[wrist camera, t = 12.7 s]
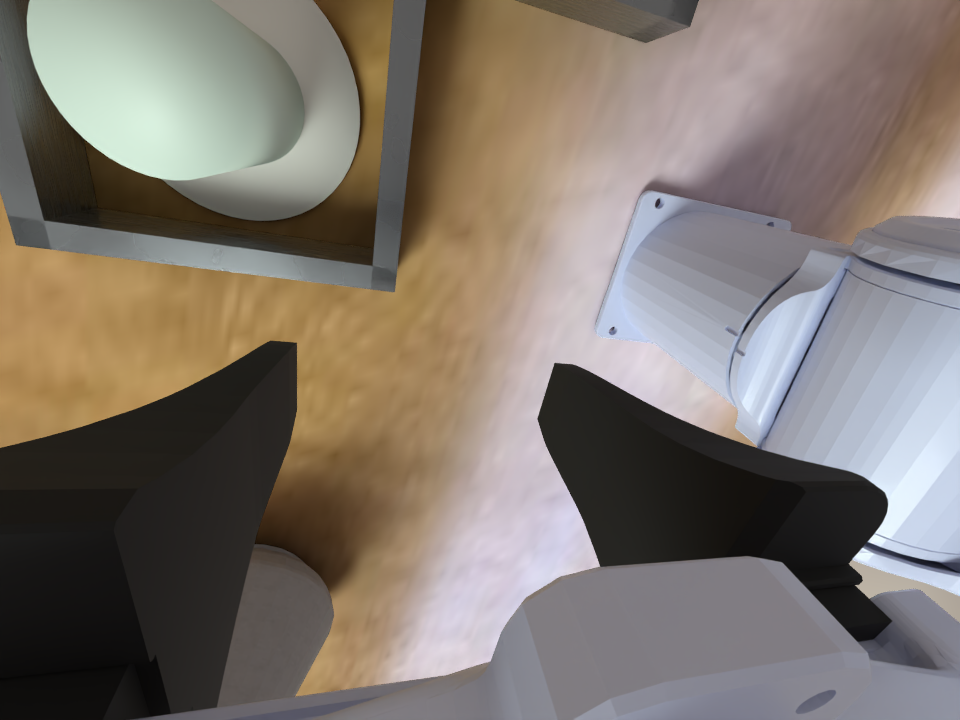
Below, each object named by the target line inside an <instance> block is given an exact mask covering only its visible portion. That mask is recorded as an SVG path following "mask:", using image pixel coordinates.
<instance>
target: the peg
mask: <svg viewBox="0 0 960 720" xmlns="http://www.w3.org/2000/svg"><path fill="white" fill-rule="evenodd" d="M27 36H28V42H29V47H30V52H31V56H32V59H33V62H34V65H35V68H36V71H37V73H38V75H39V78H40V80H41V82H42V84H43V86H44V88H45V90H46V91H47V93H48V95H49V97H50V99H51V100H52V101H53V103H54V104H55V106H56V107H57V109H58V110H59V112H60V113H61V114H62V115H63V117H64V118H65V119H66V120H67V121H68V123H69V124H70V125H71V126H72V127H73V128H74V129H75V130H76V131H77V132H78V133H79V134H80V135H81V136H82V137H83V138H84V139H85V140H86V141H88V142H89V143H90V144H91V145H92V146H93V147H95V148H96V149H97V150H99V151H100V152H102V153H103V154H104V155H106V156H107V157H109V158H110V159H112V160H114V161H116V162H117V163H119V164H121V165H123V166H125V167H127V168H129V169H131V170H134V171H136V172H139V173H142V174H145V175H148V176H151V177H156V178H160V179H167V180H192V179H198V178H203V177H208V176H212V175H217V174H221V173H226V172H230V171H235V170H239V169H244V168H248V167H253V166H257V165H262V164H266V163H270V162H273V161H276V160H278V159H280V158H282V157H283V156H285V155H286V154H288V153H289V152H290V151H291V150H292V149H293V147H294V146H295V144H296V143H297V141H298V139H299V137H300V135H301V132H302V129H303V124H304V114H305V112H304V101H303V96H302V92H301V89H300V86H299V83H298V81H297V79H296V77H295V75H294V73H293V71H292V69H291V68H290V66H289V65H288V63H287V62H286V60H285V59H284V58H283V57H282V56H281V54H280V53H279V52H278V51H277V50H276V49H275V48H274V47H273V46H272V45H270V44H269V43H268V42H266V41H265V40H264V39H263V38H261V37H260V36H259V35H257V34H256V33H255V32H253V31H252V30H251V29H249V28H248V27H247V26H245V25H244V24H243V23H241V22H240V21H239V20H237V19H236V18H235V17H233V16H232V15H231V14H229V13H228V12H227V11H225V10H224V9H223V8H221V7H220V6H219V5H217V4H216V3H215V2H213V1H212V0H30V1H29V5H28V13H27Z"/></svg>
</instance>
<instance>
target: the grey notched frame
mask: <svg viewBox="0 0 960 720" xmlns="http://www.w3.org/2000/svg"><path fill="white" fill-rule="evenodd" d="M29 1H30V0H0V192H1V196H2V199H3V202H4V206H5V209H6V213H7V216H8V219H9V223H10V226H11V229H12V233H13V236H14V239H15V243H16V245H19V246H27V247H36V248H44V249H52V250H60V251H68V252H76V253H84V254H92V255H100V256H108V257H116V258H124V259H132V260H140V261H148V262H156V263H164V264H172V265H180V266H188V267H196V268H204V269H212V270H220V271H228V272H236V273H244V274H252V275H260V276H268V277H276V278H284V279H292V280H301V281H309V282H317V283H325V284H333V285H341V286H349V287H357V288H365V289H373V290H381V291H389V292H395V285H396V275H397V266H398V257H399V248H400V238H401V229H402V220H403V210H404V201H405V192H406V182H407V173H408V164H409V154H410V145H411V136H412V126H413V117H414V108H415V99H416V89H417V80H418V71H419V61H420V52H421V43H422V33H423V24H424V15H425V5H426V0H394V6H393V18H392V31H391V43H390V55H389V68H388V80H387V93H386V105H385V118H384V130H383V143H382V155H381V167H380V180H379V192H378V205H377V217H376V230H375V242H374V249H372V248H365V247H358V246H351V245H345V244H338V243H331V242H325V241H318V240H311V239H305V238H298V237H291V236H284V235H278V234H271V233H264V232H258V231H251V230H244V229H237V228H231V227H224V226H217V225H211V224H204V223H197V222H191V221H184V220H177V219H170V218H164V217H157V216H150V215H144V214H137V213H130V212H123V211H117V210H110V209H103V208H97V203H96V198H95V193H94V188H93V183H92V179H91V174H90V169H89V164H88V159H87V154H86V149H85V144H84V139H83V137H82V136H81V135H80V134H79V133H78V132H77V131H76V130H75V129H74V128H73V127H72V126H71V125H70V124H69V123H68V121H67V120H66V119H65V118H64V117H63V115H62V114H61V113H60V112H59V110H58V109H57V107H56V106H55V104H54V103H53V101H52V100H51V99H50V97H49V95H48V93H47V91H46V90H45V88H44V86H43V84H42V82H41V80H40V78H39V75H38V73H37V71H36V68H35V65H34V62H33V59H32V56H31V52H30V47H29V42H28V36H27V13H28V5H29ZM516 1H519V2H522V3H525V4H528V5H531V6H535V7H538V8H541V9H544V10H547V11H550V12H553V13H556V14H559V15H562V16H565V17H568V18H571V19H574V20H577V21H580V22H583V23H587V24H590V25H593V26H596V27H599V28H602V29H605V30H608V31H611V32H614V33H617V34H620V35H623V36H626V37H629V38H632V39H635V40H638V41H642V42H645V43H647V42H650V41H653V40H655V39H658V38H661V37H664V36H666V35H669V34H672V33H674V32H677V31H680V30H683V29H685V28H688V27H690V25H691V22H692V19H693V16H694V13H695V10H696V7H697V4H698V1H699V0H516Z"/></svg>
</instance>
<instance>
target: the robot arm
mask: <svg viewBox="0 0 960 720" xmlns="http://www.w3.org/2000/svg"><path fill="white" fill-rule="evenodd" d="M659 198H660V204H659V206H658V207H655V202H656V200H657V199H659ZM767 224H768V226H767ZM790 230H791V222H790V221H788V220H784V219H779V218H775V217H770V216H766V215H761V214H757V213H752V212H748V211H743V210H739V209H734V208H729V207H725V206H720V205H716V204H711V203H707V202H702V201H698V200H693V199H689V198H684V197H680V196H675V195H671V194H666V193H662V192H657V191H653V190H647V191H645V192H643V193H642V194H641V196H640V198H639V200H638V203H637V206H636V209H635V212H634V214H633V217H632V220H631V223H630V226H629V229H628V232H627V235H626V238H625V241H624V244H623V246H622V249H621V252H620V255H619V258H618V261H617V264H616V267H615V270H614V273H613V276H612V278H611V281H610V284H609V287H608V290H607V293H606V296H605V299H604V302H603V305H602V308H601V310H600V313H599V316H598V319H597V322H596V325H595V333H596V334H597V335H598V336H599V337H602V338H610V339H619V340H628V341H637V342H646V343H654V344H656V345H657V346H658V347H659V348H661V349H662V350H663V351H664V352H666V353H667V354H668V355H670V356H671V357H672V358H673V359H675V360H676V361H677V362H679V363H680V364H681V365H682V366H684V367H685V368H686V369H687V370H689V371H690V372H691V373H693V374H694V375H695V376H696V377H698V378H699V379H700V380H701V381H703V382H704V383H705V384H707V385H708V386H709V387H710V388H712V389H713V390H714V391H715V392H717V393H718V394H719V395H721V396H722V397H723V398H724V399H726V400H727V401H728V402H730V403H731V404H732V405H733V406H735V407H736V408H737V409H738V419H737V422H736V425H735V428H736V429H738V430H739V431H740V432H741V433H742V434H744V435H745V436H746V437H747V438H748V439H749V440H751V441H752V442H753V443H754V444H755V445H757V446H758V447H757V448H755V447H752V446H749V445H746V444H743V443H740V442H737V441H734V440H731V439H729V438H726V437H723V436H720V435H717V434H714V433H712V432H709V431H707V430H704V429H702V428H699V427H697V426H695V425H692V424H690V423H688V422H685V421H683V420H681V419H678V418H676V417H674V416H672V415H670V414H668V413H665V412H663V411H661V410H660V409H658V408H656V407H654V406H652V405H650V404H648V403H646V402H644V401H642V400H640V399H638V398H636V397H635V396H633V395H631V394H629V393H627V392H626V391H624V390H622V389H620V388H618V387H617V386H615V385H613V384H611V383H609V382H608V381H606V380H604V379H602V378H600V377H599V376H597V375H595V374H593V373H591V372H589V371H587V370H585V369H583V368H581V367H578V366H576V365H573V364H560V363H555V364H554V367H553V370H552V374H551V377H550V380H549V383H548V386H547V390H546V393H545V396H544V399H543V403H542V406H541V409H540V412H539V416H538V422H539V425H540V429H541V432H542V435H543V438H544V441H545V444H546V447H547V449H548V451H549V453H550V455H551V457H552V459H553V461H554V463H555V465H556V467H557V469H558V471H559V473H560V475H561V477H562V479H563V480H564V482H565V484H566V486H567V488H568V490H569V492H570V494H571V496H572V498H573V500H574V502H575V504H576V506H577V508H578V510H579V512H580V514H581V517H582V519H583V521H584V523H585V526H586V529H587V531H588V534H589V537H590V539H591V542H592V544H593V547H594V550H595V552H596V555H597V558H598V561H599V564H600V567H597V568H593V569H589V570H585V571H581V572H577V573H573V574H569V575H565V576H561V577H559V578H557V579H556V580H554V581H552V582H551V583H549V584H548V585H546V586H544V587H543V588H541V589H539V590H538V591H536V592H534V593H533V594H531V595H530V596H528V597H526V598H525V600H524V601H523V602H522V604H521V605H520V606H519V608H518V609H517V610H516V612H515V613H514V614H513V616H512V617H511V618H510V620H509V621H508V622H507V624H506V625H505V627H504V629H503V630H502V632H501V635H500V637H499V640H498V643H497V646H496V648H495V651H494V654H493V657H492V660H491V662H487V663H484V664H480V665H477V666H474V667H471V668H468V669H465V670H461V671H458V672H455V673H452V674H449V675H446V676H438V677H431V678H424V679H417V680H410V681H403V682H396V683H389V684H381V685H374V686H367V687H360V688H353V689H346V690H339V691H332V692H325V693H317V694H310V695H303V696H296V697H289V698H282V699H275V700H268V701H260V702H253V703H246V704H239V705H232V706H225V707H218V708H217V705H218V700H219V695H220V690H221V685H222V681H223V676H224V671H225V667H226V662H227V658H228V653H229V649H230V644H231V640H232V635H233V631H234V626H235V622H236V618H237V613H238V609H239V605H240V601H241V596H242V592H243V588H244V584H245V580H246V575H247V571H248V567H249V563H250V559H251V555H252V551H253V547H254V543H255V540H256V536H257V532H258V529H259V526H260V523H261V519H262V516H263V514H264V511H265V508H266V506H267V503H268V500H269V498H270V495H271V492H272V490H273V487H274V484H275V482H276V479H277V476H278V473H279V471H280V468H281V465H282V463H283V460H284V457H285V455H286V452H287V449H288V446H289V443H290V440H291V435H292V431H293V426H294V422H295V417H296V412H297V343H293V342H280V341H269V342H267V343H265V344H263V345H262V346H260V347H258V348H257V349H255V350H253V351H252V352H250V353H249V354H247V355H245V356H244V357H242V358H240V359H239V360H237V361H235V362H233V363H232V364H230V365H228V366H227V367H225V368H223V369H222V370H220V371H218V372H216V373H214V374H212V375H210V376H208V377H206V378H204V379H202V380H200V381H199V382H197V383H195V384H193V385H191V386H189V387H187V388H185V389H183V390H181V391H178V392H176V393H174V394H172V395H169V396H167V397H165V398H162V399H160V400H157V401H155V402H152V403H150V404H147V405H145V406H142V407H140V408H137V409H134V410H132V411H129V412H126V413H123V414H119V415H116V416H113V417H110V418H107V419H104V420H101V421H98V422H95V423H92V424H89V425H86V426H83V427H80V428H76V429H73V430H69V431H65V432H62V433H58V434H54V435H51V436H47V437H43V438H39V439H35V440H31V441H27V442H23V443H19V444H15V445H11V446H7V447H2V448H0V720H960V623H959V622H958V621H957V620H956V619H954V618H953V617H952V616H951V615H950V614H948V613H947V612H946V611H945V610H943V609H942V608H941V607H940V606H939V605H938V604H936V603H935V602H934V601H933V600H932V599H931V598H929V597H928V596H927V595H926V594H925V593H923V592H922V591H921V590H918V589H909V590H899V591H891V592H884V593H880V594H878V595H876V596H874V597H872V598H870V599H869V598H868V597H867V596H866V595H865V594H863V593H862V592H861V591H860V590H859V589H858V588H857V587H856V586H855V585H859V584H860V583H861V582H862V581H863V580H862V576H861V575H860V574H859V573H858V572H857V571H856V570H855V569H853V568H852V567H851V566H850V565H849V563H850V561H851V560H854V561H856V562H859V563H861V564H864V565H867V566H870V567H873V568H876V569H879V570H882V571H884V572H888V573H891V574H895V575H898V576H902V577H905V578H909V579H913V580H916V581H920V582H924V583H927V584H929V585H932V586H935V587H938V588H941V589H944V590H946V591H949V592H951V593H953V594H956V595H958V596H960V219H956V218H944V217H928V216H895V217H892V218H890V219H888V220H886V221H884V222H882V223H879V224H877V225H876V226H875V227H871V228H866V229H863V230H861V231H860V232H859V233H858V234H857V236H856V238H855V240H854V242H853V244H852V245H848V244H843V243H839V242H835V241H831V240H826V239H822V238H818V237H814V236H809V235H805V234H801V233H797V232H792V231H790ZM612 327H614V329H613V331H611V332H609V330H610V328H612Z"/></svg>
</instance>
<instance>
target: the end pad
mask: <svg viewBox="0 0 960 720" xmlns="http://www.w3.org/2000/svg"><path fill="white" fill-rule="evenodd" d="M212 1H213V2H215V3H216V4H217V5H219V6H220V7H221V8H223V9H224V10H225V11H227V12H228V13H229V14H231V15H232V16H233V17H235V18H236V19H237V20H239V21H240V22H241V23H243V24H244V25H245V26H247V27H248V28H249V29H251V30H252V31H253V32H255V33H256V34H257V35H259V36H260V37H261V38H263V39H264V40H265V41H266V42H268V43H269V44H270V45H272V46H273V47H274V48H275V49H276V50H277V51H278V52H279V53H280V54H281V56H282V57H283V58H284V59H285V60H286V62H287V63H288V65H289V66H290V68H291V69H292V71H293V73H294V75H295V77H296V79H297V81H298V83H299V86H300V89H301V92H302V96H303V101H304V112H305V114H304V124H303V129H302V132H301V135H300V137H299V139H298V141H297V143H296V144H295V146H294V147H293V149H292V150H291V151H290V152H289V153H288V154H286V155H285V156H283V157H282V158H280V159H278V160H276V161H273V162H270V163H266V164H262V165H257V166H253V167H248V168H244V169H239V170H235V171H230V172H226V173H221V174H217V175H212V176H208V177H203V178H198V179H192V180H167V179H162V180H163V181H165V182H166V183H167V184H168V185H169V186H171V187H172V188H174V189H175V190H176V191H178V192H179V193H180V194H182V195H183V196H185V197H187V198H189V199H190V200H192V201H194V202H195V203H197V204H199V205H201V206H204V207H206V208H208V209H210V210H212V211H215V212H218V213H221V214H224V215H227V216H230V217H235V218H240V219H245V220H255V221H271V220H279V219H285V218H290V217H293V216H296V215H299V214H302V213H304V212H306V211H308V210H310V209H312V208H314V207H315V206H317V205H318V204H320V203H321V202H323V201H324V200H325V199H326V198H327V197H328V196H329V195H330V194H331V193H333V192H334V190H335V189H336V188H337V187H338V185H339V184H340V183H341V182H342V180H343V179H344V177H345V175H346V173H347V172H348V170H349V168H350V166H351V163H352V161H353V158H354V156H355V152H356V148H357V144H358V138H359V130H360V105H359V97H358V90H357V86H356V82H355V77H354V74H353V71H352V68H351V65H350V62H349V59H348V56H347V54H346V52H345V50H344V48H343V46H342V44H341V41H340V39H339V37H338V36H337V34H336V32H335V31H334V29H333V27H332V26H331V24H330V22H329V21H328V19H327V18H326V17H325V15H324V14H323V13H322V11H321V10H320V8H319V7H318V6H317V4H316V3H315V2H314V1H313V0H212Z"/></svg>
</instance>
